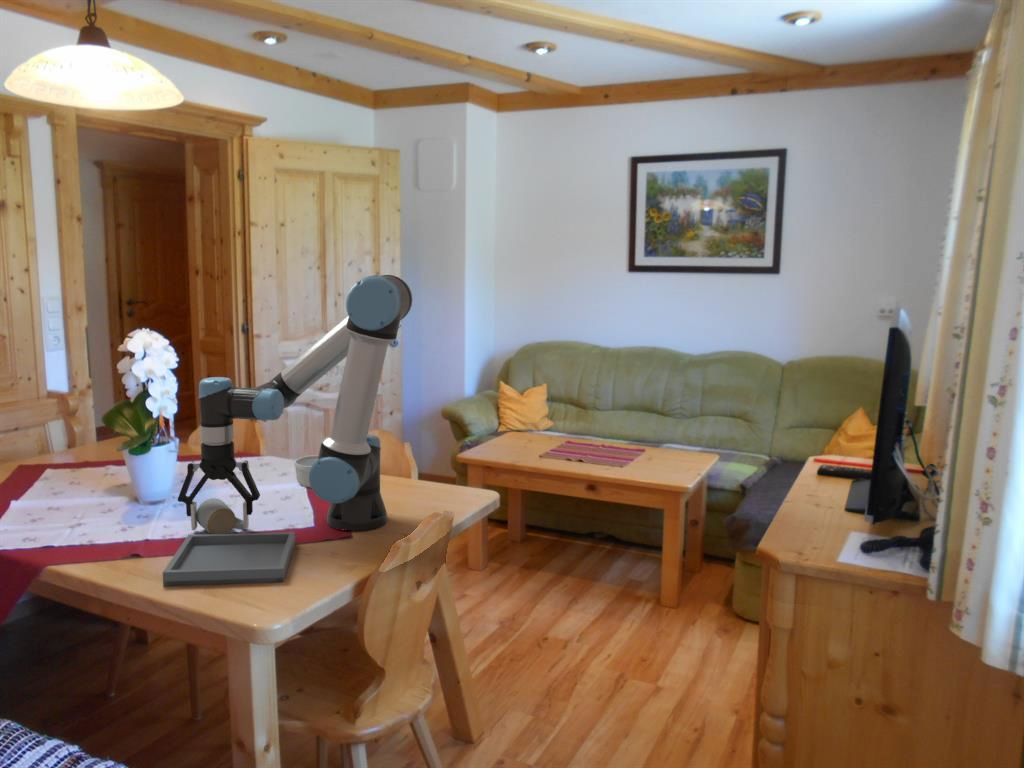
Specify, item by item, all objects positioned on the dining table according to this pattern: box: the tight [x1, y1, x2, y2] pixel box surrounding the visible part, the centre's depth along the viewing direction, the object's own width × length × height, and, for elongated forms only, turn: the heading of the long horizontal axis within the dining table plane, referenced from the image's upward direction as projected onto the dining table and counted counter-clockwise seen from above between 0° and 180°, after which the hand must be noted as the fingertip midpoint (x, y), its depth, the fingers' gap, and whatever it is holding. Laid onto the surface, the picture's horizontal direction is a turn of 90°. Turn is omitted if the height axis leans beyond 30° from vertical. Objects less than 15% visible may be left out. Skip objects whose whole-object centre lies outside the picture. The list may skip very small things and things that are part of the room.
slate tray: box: [162, 531, 296, 587], centre depth 176 cm, size 24×22×3 cm
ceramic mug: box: [196, 497, 245, 534], centre depth 196 cm, size 11×8×8 cm
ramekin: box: [293, 454, 319, 489], centre depth 238 cm, size 13×13×7 cm
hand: (220, 527), depth 196 cm, fingers closed on ceramic mug, 11 cm apart
